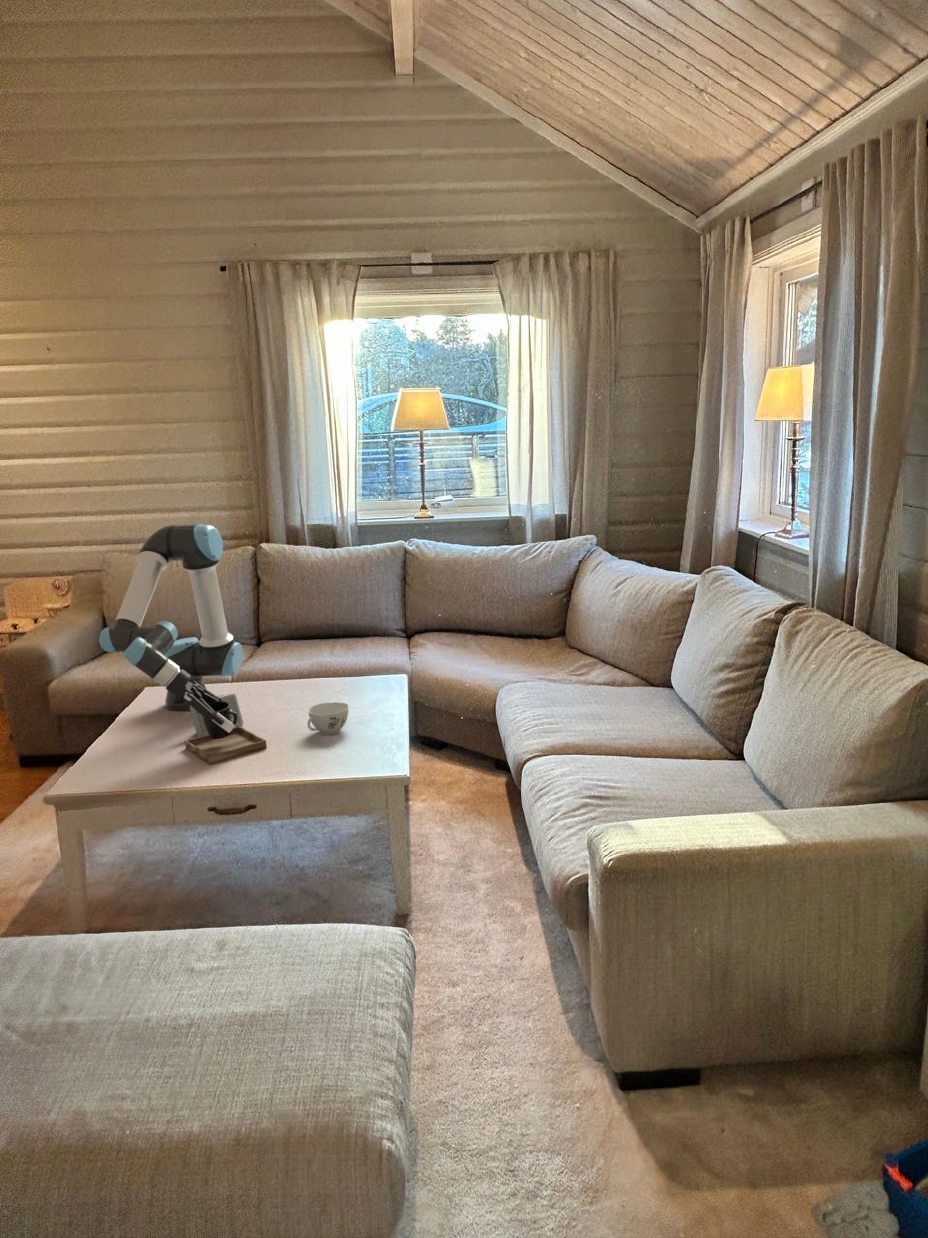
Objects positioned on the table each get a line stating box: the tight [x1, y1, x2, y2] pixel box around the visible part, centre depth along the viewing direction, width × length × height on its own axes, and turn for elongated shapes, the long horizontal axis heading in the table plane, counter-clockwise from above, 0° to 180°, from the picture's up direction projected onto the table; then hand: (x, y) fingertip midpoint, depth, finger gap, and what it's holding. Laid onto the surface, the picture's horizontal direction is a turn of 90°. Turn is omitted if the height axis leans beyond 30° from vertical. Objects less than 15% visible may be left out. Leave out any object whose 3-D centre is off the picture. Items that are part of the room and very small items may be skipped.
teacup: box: [307, 701, 349, 736], centre depth 278 cm, size 15×12×8 cm
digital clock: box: [189, 692, 244, 738], centre depth 285 cm, size 16×9×11 cm, turn 121°
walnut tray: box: [184, 725, 267, 766], centre depth 269 cm, size 18×18×2 cm
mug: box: [203, 701, 238, 739], centre depth 267 cm, size 8×12×10 cm
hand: (233, 724), depth 268 cm, fingers closed on mug, 9 cm apart
